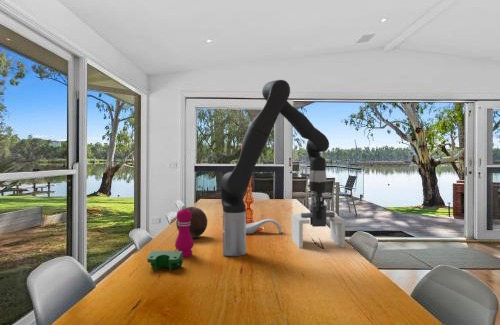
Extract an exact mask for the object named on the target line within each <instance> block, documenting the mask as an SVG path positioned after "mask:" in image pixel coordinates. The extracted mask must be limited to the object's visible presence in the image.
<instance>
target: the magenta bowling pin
mask: <svg viewBox="0 0 500 325" xmlns="http://www.w3.org/2000/svg"><path fill="white" fill-rule="evenodd" d="M186 208H187V205H182V207H181V209H179V210H178V211H177V213H176V220H177V219H178V220H179V222H178V226H179V231H178V234H177V237H176V239H175V243H174V247H175V248H176V250H177V251H182V256H183V258H189V257H192V256H193V250H192V249H193V247H194V245H195V244H194V238H192V237H191V234H190V229H189V227H190V225H191V224H190V223H191V222H190V219H191V218H192V214H191V212H190V211H189V210H187V209H186Z"/></svg>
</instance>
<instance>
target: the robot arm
mask: <svg viewBox="0 0 500 325" xmlns="http://www.w3.org/2000/svg"><path fill="white" fill-rule="evenodd" d="M261 92H262V97H263V99H265V101H266V102H265V103H264V106H263V108H262V109H261V111H260V112H259V113H258V114H257V115H256V116H255V117H254V119H253V120H252V121H251V123H250V124H249V126H248V128H247V130H246V131H245V134H244V135H243V136H244V137H243V139H242V143H241V148H240V152H239V153H240V154H239V157H238V161H237V162H236V165H235V166H234V168H233V170H232V171H228V172H226V173H224V175H223V176H222V178H221V180H220V181H221V182H220V200H221V205H222V256H226V257H241V256H245V255H246V254H247V236H246V235H247V234H246V224H247V220H246V218H247V217H246V216H247V214H246V210H247V207H246V204H245V202H244V196H243V194H244V193H245V192H246V191H247V190H248V187H249V185H250V182H251V179H252V175H253V173H254V170H255V168H256V164H257V162H258V161H259V159H260V156H261V154H262V152H263V150H264V147H265V146H266V145H267V144H266V143H267V142H268V139H269V137H270V134H271V132H272V130H273V128H274V126H275V124H276V122H277V119H278V117H279V115H280V114H281V116H283V117H284V118H285V120H287V121H288V122H289V124H290V125H291V126H292V127H293V129H295V131H296V132H297V133H298V135H299V136H300V137H302V139H305V140H307V141H306V150H307V155H308V159H309V184H308V185H309V191H310V192H313V193H312V194H311V203H312V204H311V205H315V206H317V209H316V210H317V219H322V211H323V210H324V206H325V196H324V195H323V192H326V191H327V171H326V170H327V162H326V158H324V157H322V156H321V153H323V152H326V151H327V150H328V149H329V148H330V142H329V139H328V137H327V136H326V135H325V134H324V133H323V132H321V131H320V130H319V129H318V128H316V127H315V126H314V125H313V123H312V122H311V121H310V120H309V118H308V117H307V116H306V115H305V114H304V113H303V112H301V111H300V110H298V109H297V108H295V106H293V105H292V103H290V102H289V101H288V99H289V96H290V94H291V87H290V84H289V83H288V82H287V80H285V79H276V80H272V81H269V82H267V83H265V84H264V85H263V87H262V91H261ZM319 206H321V207H319Z"/></svg>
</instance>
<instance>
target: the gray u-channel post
mask: <svg viewBox="0 0 500 325" xmlns="http://www.w3.org/2000/svg"><path fill="white" fill-rule="evenodd" d="M319 207H321V206H319ZM316 209H317V206H315V205H312V204H310V206H309V210H310V211H309V213H312V217H310V218H309V220H310V224H309V225H310V226H312V228H313V227H314V228H316V227H320V228H321V227H327V218H326V213H327V206H326V205H324V210H323V211H322V219H317V210H316Z"/></svg>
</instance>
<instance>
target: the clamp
mask: <svg viewBox="0 0 500 325" xmlns="http://www.w3.org/2000/svg"><path fill="white" fill-rule="evenodd" d="M146 258H147V260H146V261H147V263H150V267H151V268H153V269H154V271H155V272H157V271H158V269H160V268H164V269H165V268H167V269H169V272H172V270H173V269H181V267H182V265H183V263H184V259H183V258H184V257H183V256H182V251H178V250H151V251H150V252H149V253H148V256H146Z"/></svg>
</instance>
